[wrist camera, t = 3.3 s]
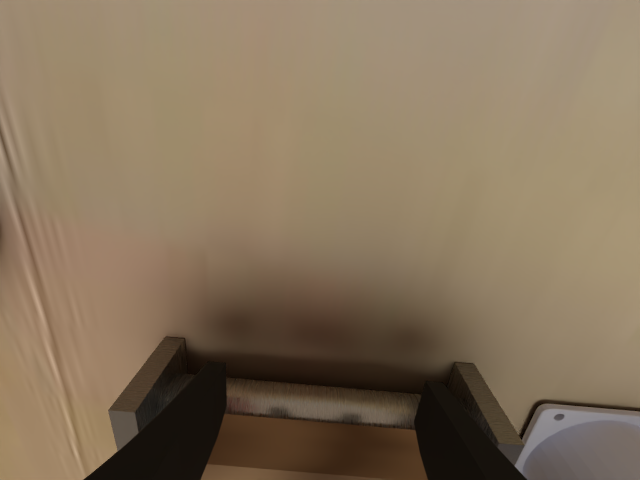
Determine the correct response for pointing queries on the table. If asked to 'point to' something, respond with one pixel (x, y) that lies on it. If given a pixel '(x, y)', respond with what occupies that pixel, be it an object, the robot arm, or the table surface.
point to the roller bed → (303, 400)
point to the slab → (311, 451)
